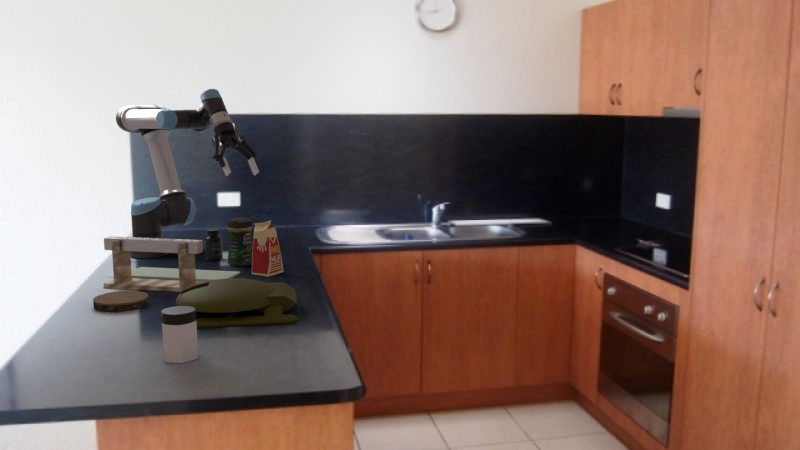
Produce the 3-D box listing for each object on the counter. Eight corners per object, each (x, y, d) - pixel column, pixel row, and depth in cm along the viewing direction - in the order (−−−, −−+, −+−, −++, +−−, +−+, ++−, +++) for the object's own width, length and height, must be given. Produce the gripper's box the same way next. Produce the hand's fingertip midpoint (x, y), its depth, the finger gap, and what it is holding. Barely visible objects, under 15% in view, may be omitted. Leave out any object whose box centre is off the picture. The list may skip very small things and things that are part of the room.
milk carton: (283, 271, 274) (282, 218, 271) (269, 276, 266) (267, 222, 263) (263, 269, 278) (261, 217, 275) (248, 274, 270) (247, 220, 266)
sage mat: (119, 277, 264) (119, 274, 264) (140, 268, 278) (140, 266, 278) (224, 282, 257) (223, 280, 257) (240, 273, 271) (240, 271, 270)
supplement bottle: (225, 257, 300) (224, 228, 298) (219, 261, 293) (218, 231, 291) (208, 257, 300) (207, 228, 299) (202, 260, 294) (201, 231, 292)
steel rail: (104, 250, 249) (103, 238, 249) (111, 247, 253) (110, 236, 253) (197, 253, 243) (197, 242, 242) (203, 251, 247) (202, 240, 246)
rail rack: (103, 287, 249) (100, 241, 246) (118, 281, 258) (116, 236, 255) (194, 292, 243) (192, 244, 240) (206, 286, 251) (204, 240, 249)
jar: (186, 349, 185) (184, 303, 183) (206, 356, 180) (204, 309, 178) (154, 358, 178) (152, 310, 176) (173, 366, 173) (171, 317, 171)
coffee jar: (239, 268, 280) (238, 220, 277) (224, 265, 284) (223, 218, 281) (257, 263, 288) (255, 216, 285) (242, 261, 292) (240, 215, 289)
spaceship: (294, 298, 237) (294, 268, 236) (298, 325, 207) (297, 291, 206) (182, 302, 231) (181, 272, 230) (169, 331, 201) (167, 296, 200)
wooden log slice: (90, 315, 217) (89, 305, 216) (97, 301, 232) (96, 292, 231) (147, 311, 221) (146, 301, 221) (150, 298, 236) (149, 289, 236)
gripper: (201, 119, 270) (221, 169, 265) (253, 122, 290) (273, 168, 284) (190, 130, 274) (210, 179, 269) (242, 132, 294) (262, 178, 289)
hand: (242, 174), depth 277 cm, fingers open, 13 cm apart
